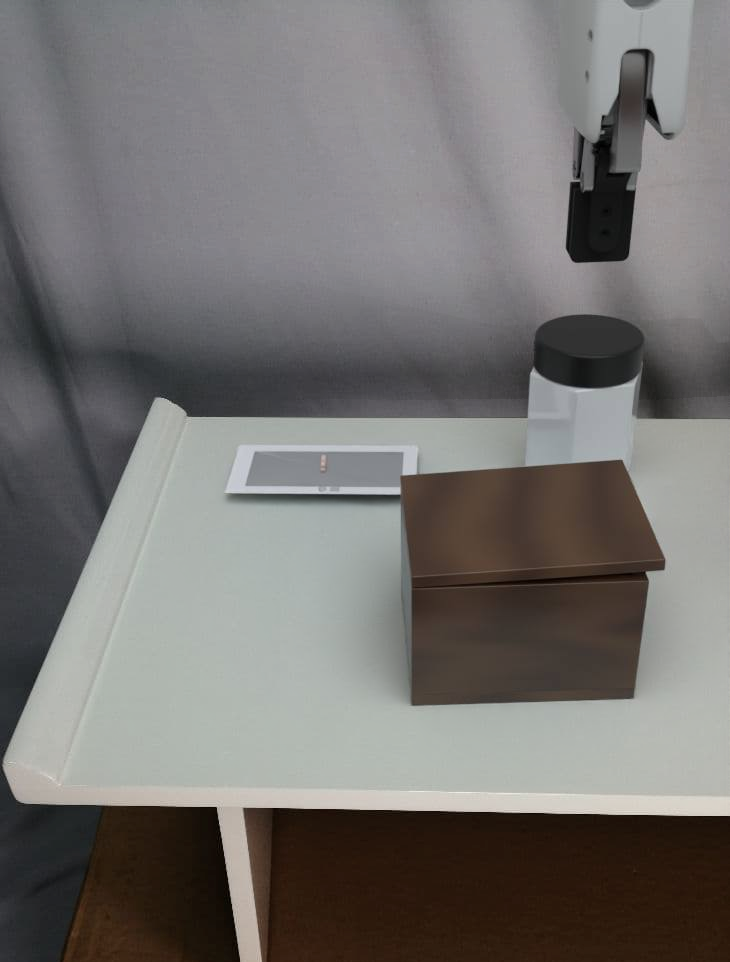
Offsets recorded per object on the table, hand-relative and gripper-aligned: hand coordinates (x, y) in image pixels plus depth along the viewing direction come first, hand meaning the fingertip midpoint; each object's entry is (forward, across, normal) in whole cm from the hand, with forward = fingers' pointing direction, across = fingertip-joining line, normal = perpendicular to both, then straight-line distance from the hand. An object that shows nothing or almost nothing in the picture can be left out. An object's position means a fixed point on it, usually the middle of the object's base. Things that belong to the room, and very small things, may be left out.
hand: (596, 256), depth 65 cm
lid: (+16, -2, +4) cm, 17 cm away
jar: (+25, +19, -4) cm, 32 cm away
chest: (+25, -2, +4) cm, 26 cm away
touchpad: (+25, +20, +16) cm, 36 cm away
